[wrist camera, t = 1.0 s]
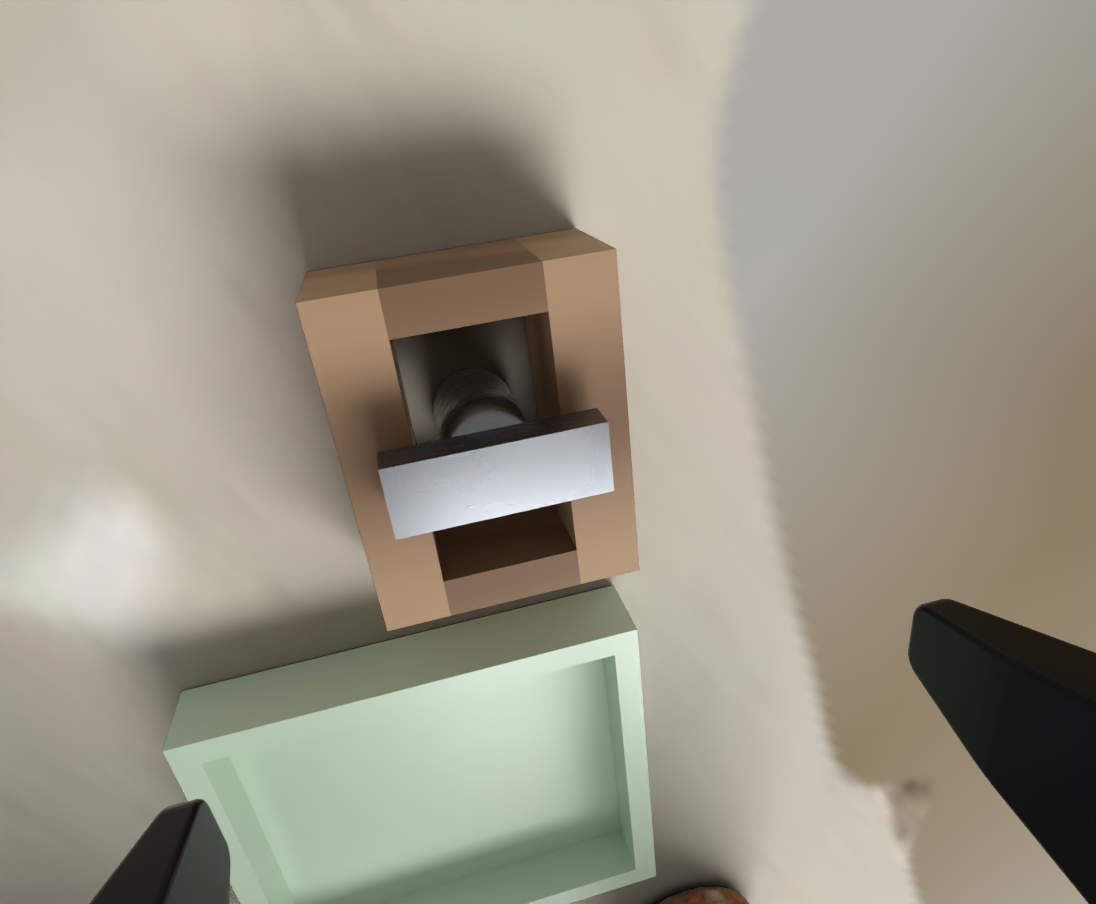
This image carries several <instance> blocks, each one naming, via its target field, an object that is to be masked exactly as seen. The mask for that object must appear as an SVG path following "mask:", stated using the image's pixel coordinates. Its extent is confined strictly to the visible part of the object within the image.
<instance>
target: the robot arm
mask: <svg viewBox="0 0 1096 904" xmlns="http://www.w3.org/2000/svg"><path fill="white" fill-rule="evenodd" d="M908 656H909V661H910V664H911V666H912V669H913V670H914V672H915V674H916V675H917V677H918V678H919V680H920V681H921V683H922V684H923V686H924V687H925V689H926V690H927V692H928V693H929V695H930V696H931V697H932V699H933V700H934V702H935V704H936V705H937V706H938V708H939V709H940V711H941V712H942V714H943V715H944V717H945V718H946V720H947V721H948V723H949V724H950V726H951V727H952V729H953V730H954V732H955V733H956V735H957V736H958V738H959V739H960V741H961V742H962V744H963V745H964V747H965V748H966V750H967V751H968V753H969V754H970V755H971V757H972V758H973V760H974V761H975V763H976V764H977V765H978V767H979V768H980V769H981V771H982V772H983V774H984V775H985V776H986V777H987V779H988V780H989V781H990V783H991V784H992V785H993V787H994V788H995V789H996V791H997V792H998V793H999V794H1000V795H1001V796H1002V798H1003V799H1004V800H1005V802H1006V803H1007V804H1008V805H1009V806H1010V807H1011V809H1012V810H1013V811H1014V813H1015V814H1016V815H1017V816H1018V817H1019V819H1020V820H1021V821H1022V822H1023V824H1024V825H1025V826H1026V827H1027V829H1028V830H1029V831H1030V832H1031V834H1032V835H1033V836H1034V837H1035V838H1036V840H1037V841H1038V842H1039V843H1040V844H1041V846H1042V847H1043V848H1044V849H1045V851H1046V852H1047V853H1048V854H1049V856H1050V857H1051V858H1052V859H1053V861H1054V862H1055V863H1056V864H1057V866H1058V867H1059V868H1060V869H1061V870H1062V872H1063V873H1064V874H1065V875H1066V876H1067V878H1068V879H1069V880H1070V881H1071V883H1072V884H1073V885H1074V886H1075V888H1076V889H1077V890H1078V891H1079V893H1080V894H1081V895H1082V896H1083V897H1084V899H1085V900H1086V901H1087V902H1088V904H1096V653H1095V652H1092V651H1089V650H1086V649H1084V648H1081V647H1078V646H1076V645H1073V644H1070V643H1068V642H1065V641H1062V640H1059V639H1057V638H1054V637H1051V636H1049V635H1046V634H1043V633H1040V632H1038V631H1035V630H1032V629H1030V628H1027V627H1024V626H1022V625H1019V624H1016V623H1013V622H1011V621H1008V620H1005V619H1003V618H1000V617H997V616H994V615H992V614H989V613H986V612H984V611H981V610H978V609H976V608H973V607H970V606H967V605H965V604H962V603H959V602H956V601H954V600H950V599H940V600H937V601H933V602H929V603H925V604H921V605H919V606H918V607H917V608H916V610H915V611H914V614H913V621H912V627H911V635H910V642H909V649H908ZM230 867H231V862H230V852H229V848H228V844H227V842H226V840H225V838H224V836H223V833H222V831H221V829H220V827H219V825H218V823H217V821H216V819H215V817H214V815H213V813H212V811H211V809H210V807H209V805H208V804H207V802H205V801H204V800H202V799H195V800H191V801H187V802H183V803H180V804H176V805H172V806H169V807H167V808H165V809H164V810H162V811H161V812H160V813H159V814H158V815H157V817H156V818H155V819H154V821H153V822H152V823H151V824H150V826H149V827H148V828H147V830H146V831H145V832H144V834H143V835H142V836H141V837H140V839H139V840H138V841H137V843H136V844H135V845H134V847H133V848H132V849H131V850H130V852H129V853H128V854H127V856H126V857H125V858H124V860H123V861H122V862H121V863H120V865H119V866H118V867H117V869H116V870H115V871H114V873H113V874H112V875H111V876H110V878H109V879H108V880H107V882H106V883H105V884H104V886H103V887H102V888H101V889H100V891H99V892H98V893H97V895H96V896H95V897H94V899H93V900H92V901H91V903H90V904H229V890H230Z"/></svg>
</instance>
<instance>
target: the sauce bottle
mask: <svg viewBox="0 0 1096 904" xmlns="http://www.w3.org/2000/svg"><path fill="white" fill-rule="evenodd" d="M659 904H749V903H748V902H747V900H746V899H745V898H744V897H743V896H742V895H741V894H740V893H739V892H737V891H735V890H733V889H728V888H723V887H720V886H716V887H697V888H695V889H691V890H686V891H684V892H682V893H679V894H676V895H674V896H670V897H667V898H666V899H665V900H663V901H661V902H660V903H659Z"/></svg>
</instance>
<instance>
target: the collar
mask: <svg viewBox="0 0 1096 904" xmlns="http://www.w3.org/2000/svg"><path fill="white" fill-rule="evenodd" d="M296 306H297V310H298V313H299V317H300V321H301V324H302V328H303V331H304V335H305V338H306V342H307V346H308V349H309V353H310V356H311V360H312V363H313V367H314V371H315V374H316V378H317V381H318V385H319V389H320V392H321V396H322V399H323V403H324V406H325V410H326V414H327V417H328V421H329V424H330V428H331V431H332V435H333V439H334V442H335V446H336V449H337V453H338V456H339V460H340V464H341V467H342V471H343V474H344V478H345V481H346V485H347V489H348V492H349V496H350V499H351V503H352V506H353V510H354V514H355V517H356V521H357V524H358V528H359V531H360V535H361V539H362V542H363V546H364V549H365V553H366V556H367V560H368V564H369V567H370V571H371V574H372V578H373V582H374V585H375V589H376V592H377V596H378V599H379V603H380V607H381V610H382V614H383V617H384V621H385V624H386V628H387V631H391V630H395V629H399V628H403V627H407V626H411V625H415V624H420V623H424V622H428V621H432V620H436V619H440V618H444V617H448V616H452V615H456V614H461V613H465V612H469V611H473V610H477V609H481V608H485V607H489V606H493V605H498V604H502V603H506V602H510V601H514V600H518V599H522V598H526V597H530V596H534V595H539V594H543V593H547V592H551V591H555V590H559V589H563V588H567V587H571V586H575V585H580V584H584V583H588V582H592V581H596V580H600V579H604V578H608V577H612V576H616V575H621V574H625V573H629V572H633V571H637V570H639V559H638V545H637V531H636V517H635V503H634V490H633V476H632V462H631V448H630V434H629V420H628V407H627V393H626V379H625V365H624V351H623V337H622V324H621V310H620V296H619V282H618V268H617V254H616V249H615V248H613V247H611V246H610V245H608V244H606V243H604V242H602V241H600V240H598V239H596V238H594V237H592V236H590V235H588V234H586V233H584V232H582V231H580V230H578V229H577V228H574V229H568V230H562V231H556V232H550V233H543V234H537V235H531V236H525V237H519V238H513V239H506V240H500V241H494V242H488V243H482V244H476V245H469V246H463V247H457V248H451V249H445V250H439V251H432V252H426V253H420V254H414V255H408V256H402V257H395V258H389V259H383V260H377V261H371V262H365V263H358V264H352V265H346V266H340V267H334V268H328V269H322V270H315V271H309V272H307V273H306V275H305V278H304V281H303V284H302V286H301V289H300V292H299V295H298V298H297V300H296ZM521 316H524V318H525V326H526V333H527V340H528V348H529V355H530V363H531V370H532V378H533V385H534V392H535V400H536V407H537V415H538V420H539V419H544V418H549V417H554V416H559V415H564V414H568V413H573V412H578V411H583V410H588V409H593V408H597V409H598V410H599V411H600V412H601V414H602V415H603V416H604V417H605V419H606V420H607V421H608V424H609V436H610V447H611V459H612V470H613V482H614V491H612V492H607V493H603V494H598V495H594V496H589V497H585V498H581V499H576V500H572V501H567V502H563V503H558V504H554V505H549V506H545V507H540V508H536V509H531V510H527V511H523V512H518V513H514V514H509V515H505V516H500V517H496V518H491V519H487V520H482V521H478V522H473V523H469V524H465V525H460V526H456V527H451V528H447V529H442V530H438V531H433V532H429V533H424V534H420V535H415V536H411V537H406V538H402V539H398V540H396V539H395V535H394V531H393V527H392V523H391V519H390V516H389V512H388V508H387V504H386V500H385V496H384V492H383V488H382V484H381V480H380V476H379V472H378V460H377V452H382V451H387V450H392V449H397V448H402V447H407V446H412V445H416V443H415V438H414V434H413V429H412V425H411V420H410V416H409V411H408V407H407V403H406V398H405V394H404V389H403V385H402V380H401V376H400V371H399V367H398V362H397V358H396V353H395V349H394V344H393V339H398V338H404V337H410V336H415V335H421V334H426V333H432V332H437V331H443V330H448V329H454V328H460V327H465V326H471V325H476V324H482V323H487V322H493V321H498V320H504V319H510V318H515V317H521Z"/></svg>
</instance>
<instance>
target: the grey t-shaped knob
mask: <svg viewBox="0 0 1096 904" xmlns="http://www.w3.org/2000/svg"><path fill="white" fill-rule="evenodd" d="M433 410H434V416H435V420H436V424H437V428H438V433H439V437H440V440H436V441H431V442H426V443H421V444H417V445H412V446H407V447H402V448H397V449H392V450H387V451H382V452H377V460H378V472H379V476H380V480H381V484H382V488H383V492H384V496H385V500H386V504H387V508H388V512H389V516H390V519H391V523H392V527H393V531H394V535H395V539H396V540H398V539H402V538H406V537H411V536H415V535H420V534H424V533H429V532H433V531H438V530H442V529H447V528H451V527H456V526H460V525H465V524H469V523H473V522H478V521H482V520H487V519H491V518H496V517H500V516H505V515H509V514H514V513H518V512H523V511H527V510H531V509H536V508H540V507H545V506H549V505H554V504H558V503H563V502H567V501H572V500H576V499H581V498H585V497H589V496H594V495H598V494H603V493H607V492H612V491H614V482H613V470H612V459H611V447H610V436H609V424H608V421H607V420H606V419H605V417H604V416H603V415H602V414H601V412H600V411H599V410H598V409H597V408H593V409H588V410H583V411H578V412H573V413H568V414H564V415H559V416H554V417H549V418H544V419H539V420H534V421H529V422H527V421H526V420H525V418H524V416H523V414H522V412H521V410H520V409H519V407H518V405H517V403H516V401H515V399H514V397H513V396H512V394H511V392H510V390H509V388H508V386H507V385H506V383H505V382H504V381H503V380H502V379H501V378H500V377H499V376H498V375H496V374H494V373H493V372H490V371H488V370H484V369H479V368H471V369H465V370H461V371H458V372H456V373H454V374H452V375H451V376H450V377H448V378H447V379H446V380H445V381H444V382H443V383H442V384H441V385H440V387H439V389H438V390H437V393H436V395H435V398H434V404H433Z"/></svg>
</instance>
